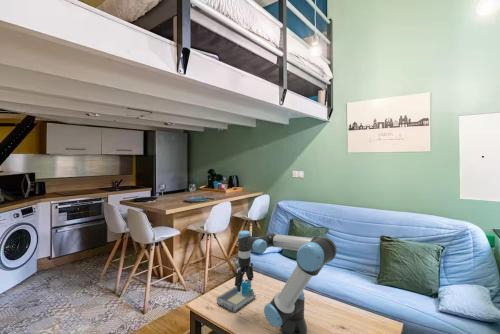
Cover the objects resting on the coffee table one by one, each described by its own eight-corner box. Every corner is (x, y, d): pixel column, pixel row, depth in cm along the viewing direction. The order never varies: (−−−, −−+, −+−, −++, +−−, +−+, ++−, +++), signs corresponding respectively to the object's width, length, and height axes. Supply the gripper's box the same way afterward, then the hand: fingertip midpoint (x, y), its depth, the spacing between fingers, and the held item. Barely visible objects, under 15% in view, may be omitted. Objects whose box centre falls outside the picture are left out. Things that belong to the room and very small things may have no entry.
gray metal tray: (256, 298, 175) (256, 292, 175) (234, 314, 157) (234, 307, 157) (238, 290, 185) (238, 284, 185) (215, 303, 167) (215, 298, 167)
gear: (232, 292, 152) (239, 276, 157) (235, 295, 156) (241, 279, 162) (249, 298, 147) (255, 282, 153) (251, 301, 151) (256, 285, 157)
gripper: (250, 250, 163) (250, 284, 163) (228, 260, 147) (228, 298, 147) (259, 253, 158) (259, 288, 159) (237, 263, 142) (237, 303, 143)
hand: (244, 293), depth 153 cm, fingers closed on gear, 8 cm apart
